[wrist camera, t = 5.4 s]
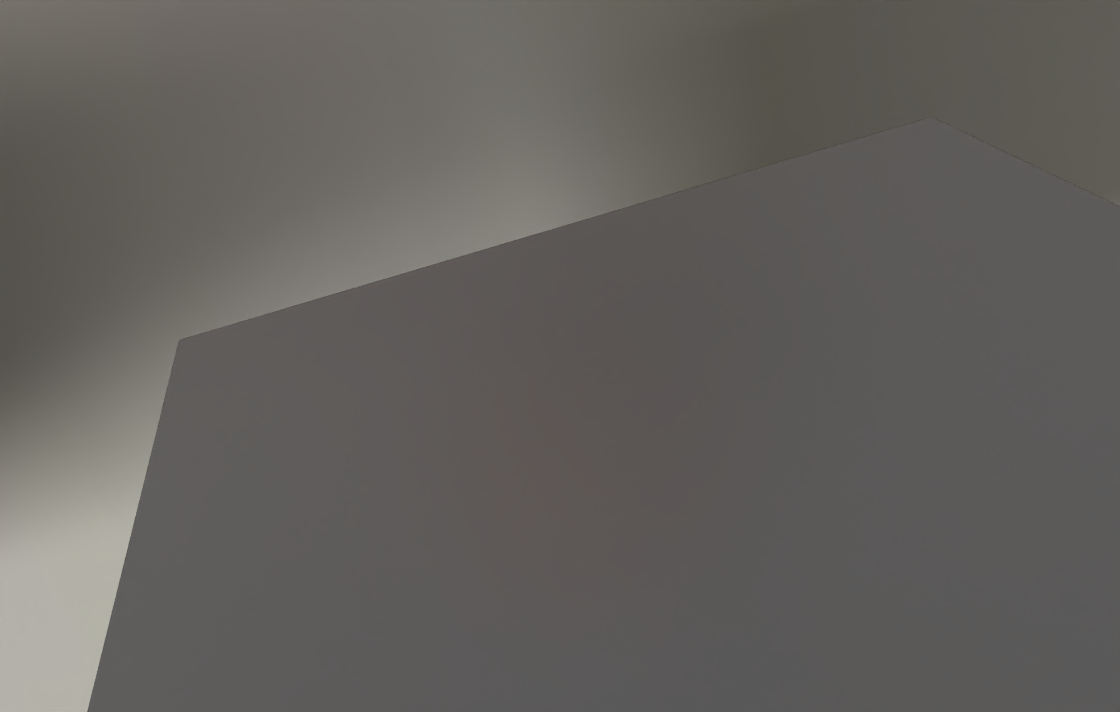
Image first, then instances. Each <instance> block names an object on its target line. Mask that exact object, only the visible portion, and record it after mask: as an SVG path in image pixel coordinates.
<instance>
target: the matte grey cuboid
mask: <svg viewBox="0 0 1120 712" xmlns="http://www.w3.org/2000/svg"><path fill="white" fill-rule="evenodd" d="M87 712H1120V206H1118V205H1116V204H1113V203H1111V202H1109V201H1107V200H1105V199H1103V198H1101V197H1099V196H1097V195H1094V194H1092V193H1090V192H1088V191H1086V190H1084V189H1082V188H1080V187H1078V186H1075V185H1073V184H1071V183H1069V182H1067V181H1065V180H1063V179H1061V178H1059V177H1057V176H1054V175H1052V174H1050V173H1048V172H1046V171H1044V170H1042V169H1040V168H1038V167H1035V166H1033V165H1031V164H1029V163H1027V162H1025V161H1023V160H1021V159H1019V158H1016V157H1014V156H1012V155H1010V154H1008V153H1006V152H1004V151H1002V150H1000V149H998V148H995V147H993V146H991V145H989V144H987V143H985V142H983V141H981V140H979V139H976V138H974V137H972V136H970V135H968V134H966V133H964V132H962V131H960V130H958V129H955V128H953V127H951V126H949V125H947V124H945V123H943V122H941V121H939V120H936V119H934V118H932V117H929V118H926V119H923V120H919V121H916V122H912V123H909V124H906V125H902V126H899V127H896V128H892V129H889V130H886V131H882V132H879V133H875V134H872V135H869V136H865V137H862V138H859V139H855V140H852V141H848V142H845V143H842V144H838V145H835V146H832V147H828V148H825V149H821V150H818V151H815V152H811V153H808V154H805V155H801V156H798V157H794V158H791V159H788V160H784V161H781V162H778V163H774V164H771V165H768V166H764V167H761V168H757V169H754V170H751V171H747V172H744V173H741V174H737V175H734V176H730V177H727V178H724V179H720V180H717V181H714V182H710V183H707V184H703V185H700V186H697V187H693V188H690V189H687V190H683V191H680V192H676V193H673V194H670V195H666V196H663V197H660V198H656V199H653V200H650V201H646V202H643V203H639V204H636V205H633V206H629V207H626V208H623V209H619V210H616V211H612V212H609V213H606V214H602V215H599V216H596V217H592V218H589V219H585V220H582V221H579V222H575V223H572V224H569V225H565V226H562V227H558V228H555V229H552V230H548V231H545V232H542V233H538V234H535V235H532V236H528V237H525V238H521V239H518V240H515V241H511V242H508V243H505V244H501V245H498V246H494V247H491V248H488V249H484V250H481V251H478V252H474V253H471V254H467V255H464V256H461V257H457V258H454V259H451V260H447V261H444V262H440V263H437V264H434V265H430V266H427V267H424V268H420V269H417V270H414V271H410V272H407V273H403V274H400V275H397V276H393V277H390V278H387V279H383V280H380V281H376V282H373V283H370V284H366V285H363V286H360V287H356V288H353V289H349V290H346V291H343V292H339V293H336V294H333V295H329V296H326V297H322V298H319V299H316V300H312V301H309V302H306V303H302V304H299V305H296V306H292V307H289V308H285V309H282V310H279V311H275V312H272V313H269V314H265V315H262V316H258V317H255V318H252V319H248V320H245V321H242V322H238V323H235V324H231V325H228V326H225V327H221V328H218V329H215V330H211V331H208V332H205V333H201V334H198V335H194V336H191V337H188V338H184V339H181V340H179V343H178V347H177V351H176V355H175V359H174V363H173V367H172V371H171V375H170V379H169V383H168V387H167V391H166V395H165V399H164V403H163V407H162V411H161V415H160V420H159V424H158V428H157V432H156V436H155V440H154V444H153V448H152V452H151V456H150V460H149V464H148V468H147V472H146V476H145V480H144V484H143V488H142V492H141V497H140V501H139V505H138V509H137V513H136V517H135V521H134V525H133V529H132V533H131V537H130V541H129V545H128V549H127V553H126V557H125V561H124V565H123V569H122V574H121V578H120V582H119V586H118V590H117V594H116V598H115V602H114V606H113V610H112V614H111V618H110V622H109V626H108V630H107V634H106V638H105V642H104V647H103V651H102V655H101V659H100V663H99V667H98V671H97V675H96V679H95V683H94V687H93V691H92V695H91V699H90V703H89V707H88V711H87Z"/></svg>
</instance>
